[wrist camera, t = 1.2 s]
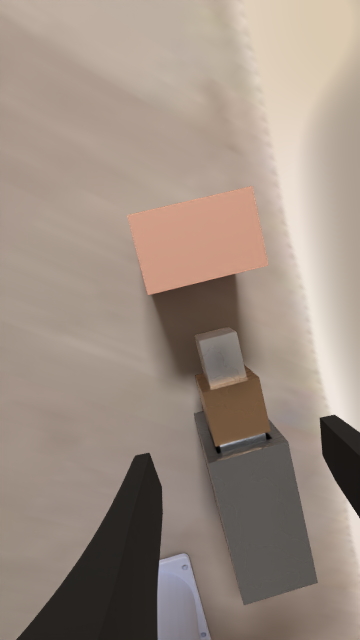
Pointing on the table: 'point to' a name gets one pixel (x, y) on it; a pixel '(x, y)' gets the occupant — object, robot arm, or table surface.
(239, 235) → the socket block
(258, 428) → the tube
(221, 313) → the table surface
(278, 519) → the outer sleeve
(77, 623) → the robot arm
